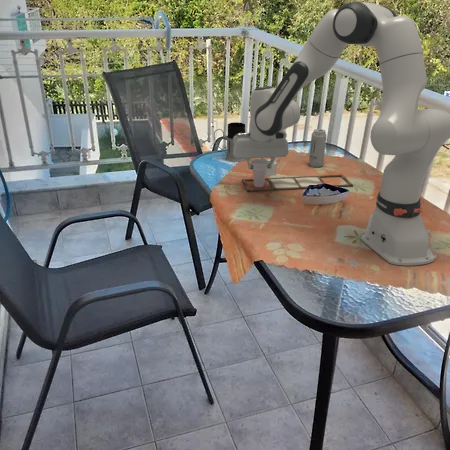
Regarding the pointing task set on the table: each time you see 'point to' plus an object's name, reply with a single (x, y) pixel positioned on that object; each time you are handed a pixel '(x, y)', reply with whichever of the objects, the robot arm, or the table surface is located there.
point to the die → (271, 169)
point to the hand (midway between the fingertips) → (260, 168)
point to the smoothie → (259, 171)
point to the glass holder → (232, 131)
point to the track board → (294, 182)
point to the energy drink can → (317, 148)
